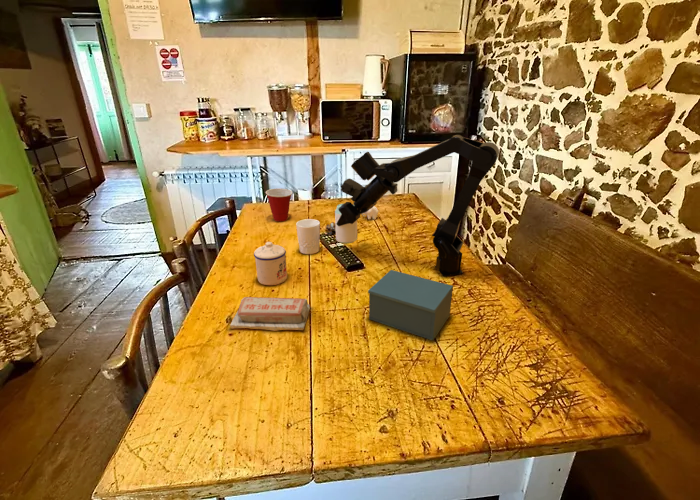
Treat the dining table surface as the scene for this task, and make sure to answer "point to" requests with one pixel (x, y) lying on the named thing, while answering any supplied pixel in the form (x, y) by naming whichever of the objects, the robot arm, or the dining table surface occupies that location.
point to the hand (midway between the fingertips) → (342, 221)
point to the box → (409, 316)
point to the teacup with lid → (271, 264)
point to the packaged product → (271, 313)
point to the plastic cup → (279, 203)
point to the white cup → (308, 235)
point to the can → (345, 229)
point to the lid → (411, 290)
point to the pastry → (331, 228)
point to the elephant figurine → (371, 213)
